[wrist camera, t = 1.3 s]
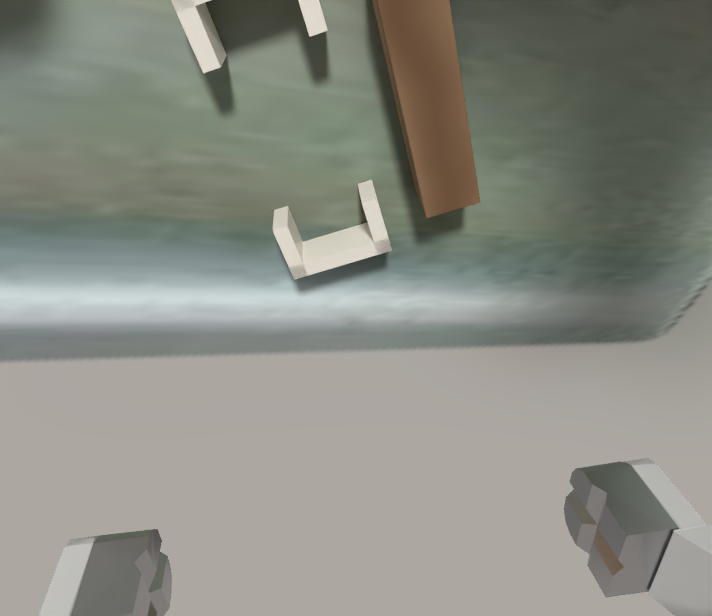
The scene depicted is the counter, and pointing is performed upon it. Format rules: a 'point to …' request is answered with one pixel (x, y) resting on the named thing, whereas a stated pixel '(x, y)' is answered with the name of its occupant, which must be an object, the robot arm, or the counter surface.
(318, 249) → the cap
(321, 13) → the cap
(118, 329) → the counter surface
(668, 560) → the robot arm
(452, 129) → the slat
